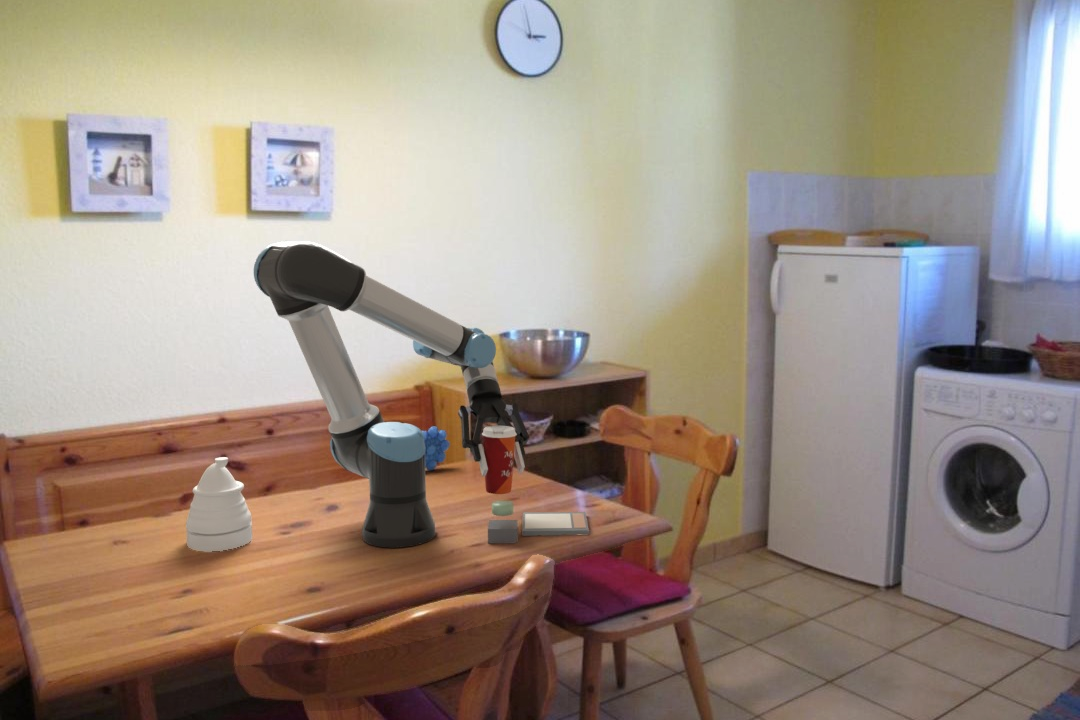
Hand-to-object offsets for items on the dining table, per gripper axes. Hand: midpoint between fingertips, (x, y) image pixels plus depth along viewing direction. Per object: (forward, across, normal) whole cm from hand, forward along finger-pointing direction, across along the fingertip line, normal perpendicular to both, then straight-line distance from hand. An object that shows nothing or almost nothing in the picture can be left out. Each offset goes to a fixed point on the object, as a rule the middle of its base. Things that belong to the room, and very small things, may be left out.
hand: (503, 471), depth 195 cm
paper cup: (+1, 0, -6) cm, 6 cm away
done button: (+10, +3, +1) cm, 11 cm away
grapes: (-29, +4, -46) cm, 55 cm away
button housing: (+14, +2, -3) cm, 15 cm away
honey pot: (+1, +58, -19) cm, 61 cm away
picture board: (+11, -11, -6) cm, 16 cm away
